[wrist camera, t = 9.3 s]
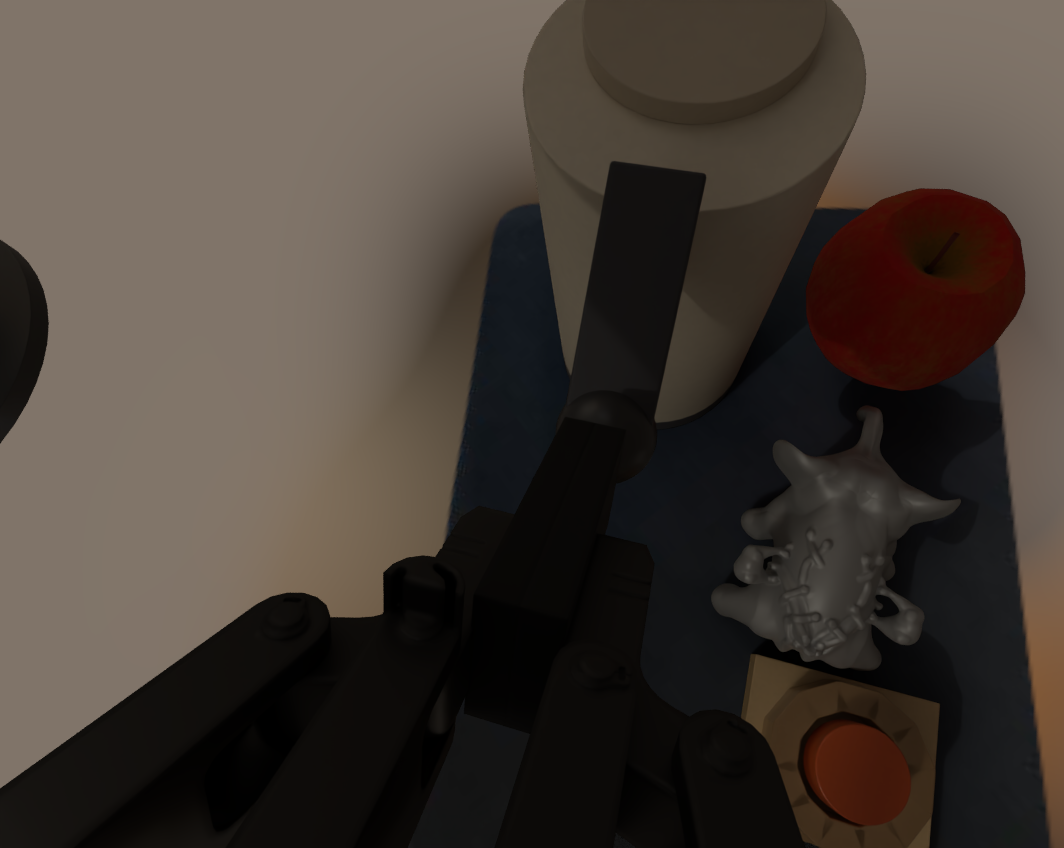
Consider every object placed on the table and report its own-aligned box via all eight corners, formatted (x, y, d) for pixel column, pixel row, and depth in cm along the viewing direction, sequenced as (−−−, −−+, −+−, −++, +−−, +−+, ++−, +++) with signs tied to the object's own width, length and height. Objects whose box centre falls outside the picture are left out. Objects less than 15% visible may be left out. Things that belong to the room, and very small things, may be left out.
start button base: (726, 811, 29) (738, 828, 27) (750, 653, 31) (764, 654, 29) (914, 871, 28) (948, 896, 25) (927, 701, 30) (961, 707, 27)
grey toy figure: (708, 658, 31) (737, 662, 24) (704, 425, 35) (729, 368, 28) (911, 674, 30) (1005, 683, 23) (885, 431, 34) (959, 373, 27)
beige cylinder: (544, 409, 37) (478, 165, 18) (586, 259, 40) (565, -86, 21) (723, 447, 35) (855, 219, 16) (753, 287, 38) (894, -64, 19)
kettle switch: (558, 458, 20) (538, 483, 17) (610, 172, 18) (597, 151, 15) (648, 478, 19) (642, 508, 17) (712, 186, 17) (717, 167, 15)
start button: (797, 799, 27) (809, 809, 25) (808, 708, 28) (821, 712, 26) (888, 827, 26) (907, 839, 25) (897, 733, 27) (916, 739, 26)
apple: (914, 450, 34) (1046, 366, 23) (754, 391, 36) (812, 290, 25) (957, 314, 36) (1096, 182, 26) (804, 265, 38) (877, 125, 28)
